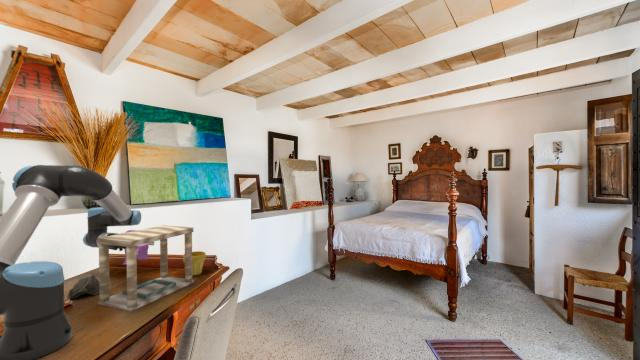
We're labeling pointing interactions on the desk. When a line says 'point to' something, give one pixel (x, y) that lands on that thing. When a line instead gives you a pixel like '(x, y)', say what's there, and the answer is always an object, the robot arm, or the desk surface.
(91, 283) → the fossil
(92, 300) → the desk surface
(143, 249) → the toy chair
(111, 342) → the desk surface
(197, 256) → the plant pot
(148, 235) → the canopy shelf
